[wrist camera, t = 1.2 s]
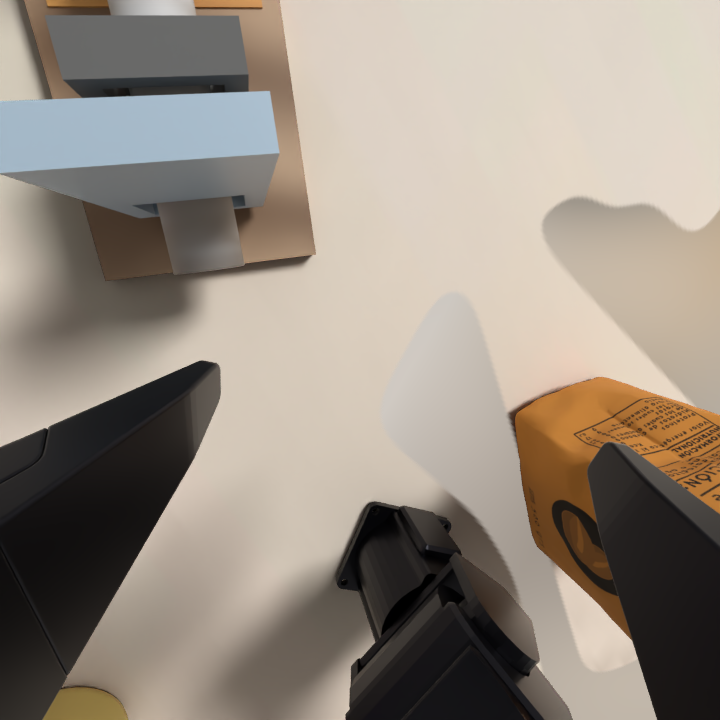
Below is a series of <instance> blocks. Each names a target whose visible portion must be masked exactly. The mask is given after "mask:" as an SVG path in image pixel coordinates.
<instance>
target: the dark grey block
mask: <svg viewBox="0 0 720 720" xmlns="http://www.w3.org/2000/svg"><path fill="white" fill-rule="evenodd" d="M45 19H46V22H47V26H48V29H49V33H50V37H51V40H52V44H53V47H54V51H55V54H56V58H57V61H58V65H59V69H60V72H61V76H62V79H63V81H65V82H66V83H67V84H68V85H69V86H70V87H71V88H72V89H73V90H74V91H75V92H76V93H77V94H79V95H80V96H81V97H82V98H99V97H125V96H130V91H129V88H142V87H172V86H201V85H210V88H211V93H230V92H249V74H248V68H247V62H246V56H245V50H244V44H243V38H242V32H241V26H240V20H239V16H207V15H45Z"/></svg>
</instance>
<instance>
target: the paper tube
mask: <svg viewBox="0 0 720 720" xmlns="http://www.w3.org/2000/svg"><path fill="white" fill-rule="evenodd" d="M43 720H128V717H127V714H126V711H125V709H124V707H123V705H122V704H121V703H120V701H119V700H118V699H117V698H115V697H114V696H112V695H111V694H109V693H107V692H104V691H102V690H98V689H94V688H86V687H74V688H66V689H61V690H60V691H59V692H58V694H57V696H56V697H55V699H54V701H53V703H52V704H51V706H50V708H49V709H48V711H47V713H46V715H45V716H44V718H43Z"/></svg>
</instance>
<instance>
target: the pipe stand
mask: <svg viewBox="0 0 720 720" xmlns="http://www.w3.org/2000/svg"><path fill="white" fill-rule="evenodd" d="M24 2H25V5H26V9H27V12H28V16H29V19H30V23H31V26H32V30H33V33H34V36H35V40H36V43H37V47H38V50H39V54H40V57H41V60H42V64H43V67H44V71H45V74H46V78H47V81H48V85H49V88H50V91H51V95H52V98H53V99H72V98H82V97H81V96H80V95H79V94H77V93H76V92H75V91H74V90H73V89H72V88H71V87H70V86H69V85H68V84H67V83H66V82H65V81H63V79H62V76H61V72H60V69H59V65H58V61H57V58H56V54H55V51H54V47H53V44H52V40H51V37H50V33H49V29H48V26H47V22H46V19H45V15H207V16H239V20H240V26H241V32H242V38H243V44H244V50H245V56H246V62H247V68H248V74H249V92H256V91H270V95H271V102H272V108H273V115H274V121H275V127H276V134H277V140H278V146H279V156H278V160H277V163H276V166H275V169H274V172H273V176H272V179H271V182H270V185H269V188H268V192H267V195H266V198H265V201H264V204H263V206H261V207H251V208H241V209H234V207H233V202H232V197H231V196H229V197H218V198H207V199H196V200H185V201H174V202H163V203H157V207H158V211H159V215H160V216H159V217H149V218H137V217H134V216H131V215H128V214H124V213H121V212H118V211H115V210H112V209H109V208H105V207H102V206H99V205H96V204H93V203H90V202H86V201H83V200H82V201H83V205H84V208H85V212H86V215H87V219H88V222H89V226H90V229H91V232H92V236H93V239H94V243H95V246H96V250H97V253H98V257H99V260H100V263H101V267H102V270H103V274H104V277H105V281H110V280H118V279H126V278H134V277H142V276H150V275H158V274H166V273H174V275H179V274H189V273H197V272H205V271H213V270H220V269H227V268H234V267H240V266H245V264H244V263H252V262H260V261H268V260H276V259H284V258H291V257H299V256H307V255H315V254H316V252H315V245H314V238H313V231H312V224H311V217H310V210H309V203H308V196H307V189H306V182H305V175H304V168H303V161H302V154H301V147H300V140H299V133H298V126H297V119H296V112H295V105H294V98H293V91H292V84H291V77H290V70H289V63H288V56H287V49H286V42H285V35H284V28H283V21H282V14H281V7H280V0H24ZM129 91H130V96H151V95H178V94H204V93H211V88H210V85H201V86H172V87H142V88H129Z"/></svg>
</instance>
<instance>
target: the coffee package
mask: <svg viewBox="0 0 720 720" xmlns="http://www.w3.org/2000/svg"><path fill="white" fill-rule="evenodd" d="M515 428H516V436H517V444H518V453H519V458H520V469H521V470H520V471H521V477H522V486H523V491H524V497H525V501H526V505H527V511H528V517H529V522H530V527H531V531H532V536H533V538H534V541H535V543H536V545H537V547H538V548H539V549H540V550H541V551H543V552H544V553H545V554H546V555H547V556H548V557H549V558H550V559H552V560H553V561H554V562H555V563H556V564H557V565H558V566H559V567H560V568H561V569H562V570H563V571H564V572H565V573H566V574H567V575H568V576H569V577H570V578H571V579H573V580H574V581H575V582H576V583H577V584H578V585H579V586H580V587H581V588H582V589H583V590H584V591H585V592H586V593H587V594H588V595H590V596H591V597H592V598H593V599H594V600H595V601H596V602H597V603H598V604H599V605H600V606H601V607H602V609H603V610H604V611H605V612H606V613H607V614H608V615H609V617H610V618H611V619H612V620H613V621H614V622H615V623H616V624H617V625H618V626H619V627H620V628H621V629H622V630H623V631H624V633H625V634H626V635H627V636H628V637H629V638H630V639H631V640H632V638H631V635H630V632H629V629H628V625H627V622H626V619H625V616H624V613H623V610H622V606H621V603H620V600H619V597H618V594H617V591H616V587H615V584H614V581H613V578H612V575H611V572H610V568H609V565H608V562H607V559H606V556H605V553H604V549H603V546H602V543H601V539H600V535H599V531H598V527H597V522H596V517H595V512H594V507H593V502H592V497H591V492H590V487H589V482H588V478H587V469H588V466H589V464H590V462H591V461H592V460H593V458H594V457H595V455H596V454H597V452H598V451H599V449H600V448H601V446H602V445H603V444H604V443H606V442H609V441H611V442H616V443H621V444H625V445H627V446H629V447H630V448H632V449H633V450H634V451H636V452H637V453H638V454H640V455H641V456H642V457H644V458H645V459H646V460H648V461H649V462H650V463H652V464H653V465H654V466H656V467H657V468H659V469H660V470H661V471H663V472H664V473H665V474H667V475H668V476H669V477H671V478H672V479H673V480H675V481H676V482H677V483H679V484H680V485H681V486H683V487H684V488H685V489H687V490H688V491H689V492H691V493H692V494H693V495H695V496H696V497H697V498H699V499H700V500H702V501H703V502H704V503H706V504H707V505H708V506H710V507H711V508H712V509H714V510H715V511H716V512H718V513H719V514H720V415H718V414H715V413H712V412H709V411H706V410H702V409H699V408H696V407H693V406H691V405H688V404H685V403H682V402H679V401H676V400H672V399H669V398H666V397H663V396H660V395H656V394H653V393H650V392H647V391H644V390H641V389H639V388H636V387H633V386H631V385H628V384H625V383H621V382H618V381H615V380H612V379H609V378H604V377H596V378H594V379H592V380H589V381H584V382H580V383H576V384H573V385H571V386H569V387H566V388H564V389H562V390H560V391H558V392H555V393H552V394H548V395H546V396H544V397H541V398H539V399H537V400H535V401H534V402H533V403H531V404H530V405H529V406H527V407H525V408H524V409H522V410H520V411H519V412H518V413H517V414H516V417H515Z"/></svg>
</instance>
